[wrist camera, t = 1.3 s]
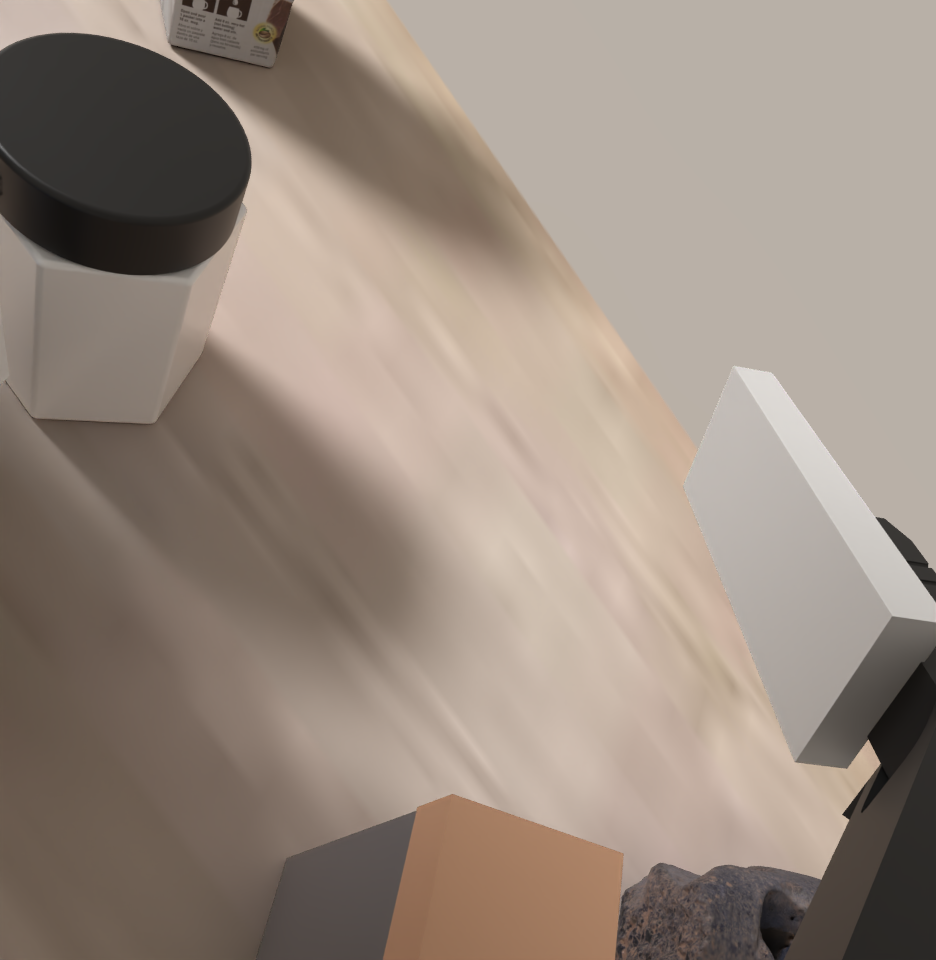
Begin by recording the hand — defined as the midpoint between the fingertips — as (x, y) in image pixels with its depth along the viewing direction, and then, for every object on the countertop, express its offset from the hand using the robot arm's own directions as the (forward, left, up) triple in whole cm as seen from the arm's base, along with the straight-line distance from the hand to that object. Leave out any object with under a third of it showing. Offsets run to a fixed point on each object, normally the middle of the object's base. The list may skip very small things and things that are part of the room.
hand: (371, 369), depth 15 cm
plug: (+8, -7, -20) cm, 23 cm away
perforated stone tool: (+25, -3, -20) cm, 32 cm away
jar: (-9, +12, -20) cm, 25 cm away
